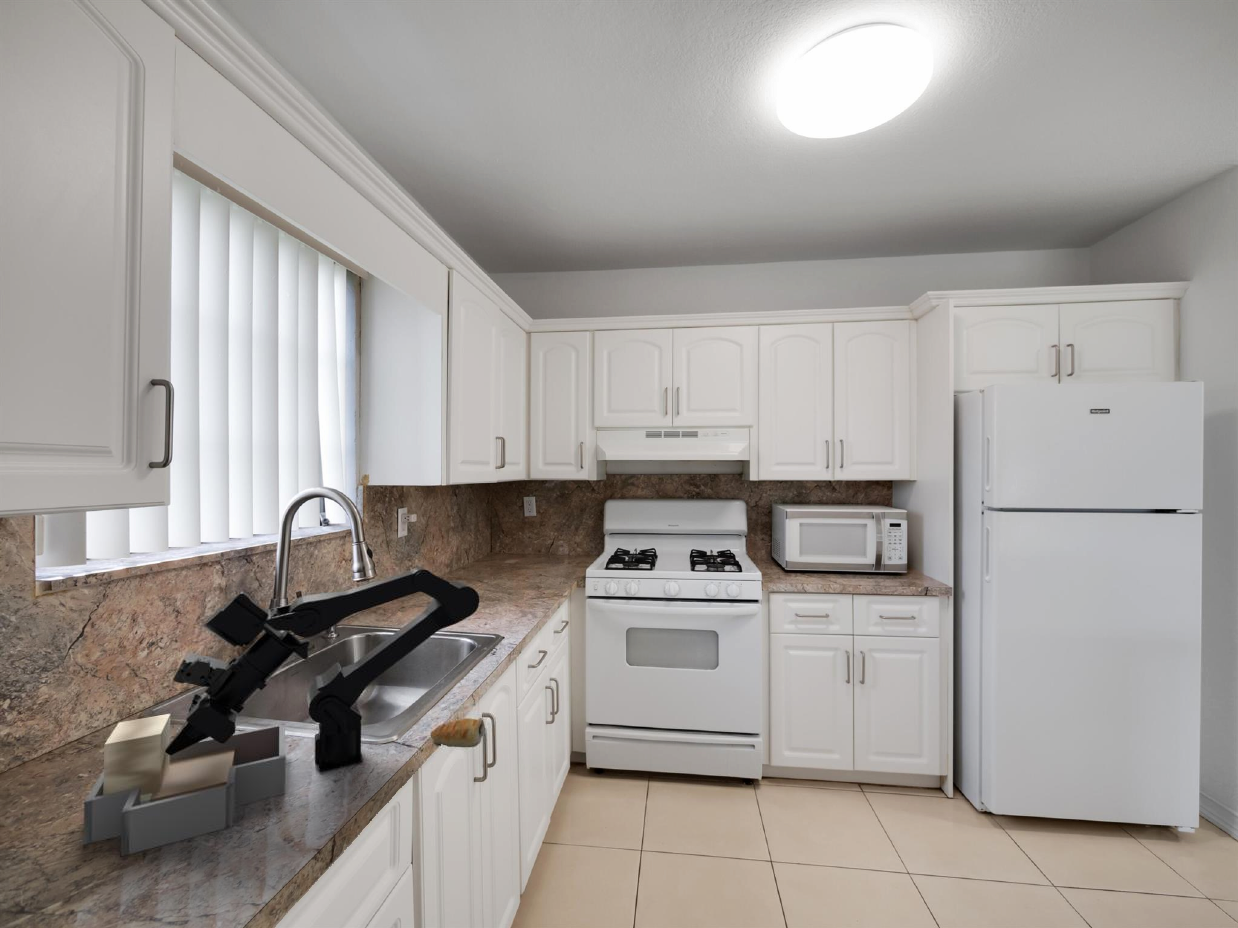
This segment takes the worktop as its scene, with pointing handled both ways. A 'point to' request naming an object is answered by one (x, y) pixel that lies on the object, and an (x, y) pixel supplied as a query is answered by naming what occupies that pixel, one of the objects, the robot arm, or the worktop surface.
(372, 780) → the worktop surface
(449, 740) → the pastry
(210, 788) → the box
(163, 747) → the block
